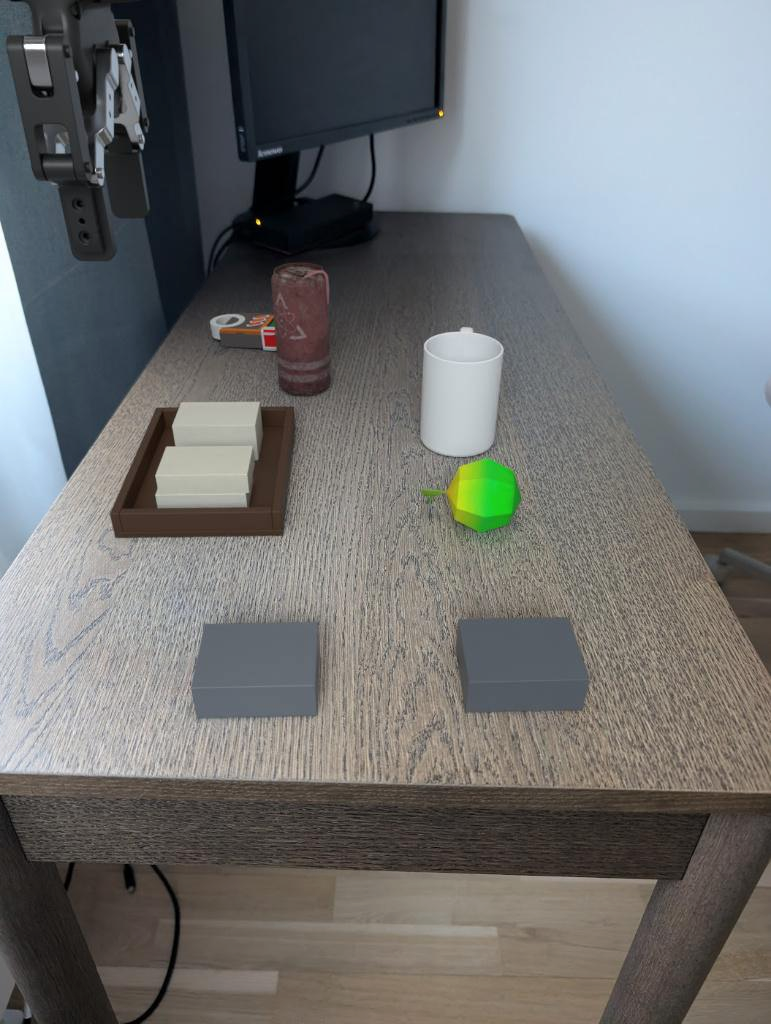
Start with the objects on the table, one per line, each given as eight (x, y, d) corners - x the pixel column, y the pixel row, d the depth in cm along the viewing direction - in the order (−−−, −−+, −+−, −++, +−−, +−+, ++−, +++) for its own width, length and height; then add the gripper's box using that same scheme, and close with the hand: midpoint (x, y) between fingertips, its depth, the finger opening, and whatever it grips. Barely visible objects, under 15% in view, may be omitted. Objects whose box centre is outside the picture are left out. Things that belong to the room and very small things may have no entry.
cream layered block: (158, 513, 70) (151, 476, 67) (169, 482, 74) (162, 446, 71) (251, 512, 70) (247, 474, 68) (256, 481, 74) (253, 445, 72)
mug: (493, 461, 79) (503, 365, 73) (416, 455, 80) (419, 360, 74) (495, 406, 89) (505, 318, 83) (427, 401, 89) (431, 314, 83)
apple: (528, 451, 66) (423, 445, 66) (526, 524, 64) (418, 517, 65) (517, 475, 73) (421, 470, 73) (515, 541, 71) (417, 535, 72)
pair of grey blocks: (196, 718, 51) (190, 688, 50) (209, 653, 56) (204, 623, 55) (582, 710, 52) (590, 679, 51) (562, 646, 57) (568, 616, 56)
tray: (115, 538, 68) (109, 513, 66) (159, 428, 84) (156, 407, 82) (282, 535, 68) (280, 511, 67) (295, 427, 84) (294, 406, 83)
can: (331, 397, 90) (327, 278, 82) (276, 397, 90) (267, 277, 82) (333, 375, 95) (330, 260, 87) (281, 374, 95) (273, 260, 87)
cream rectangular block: (177, 461, 77) (171, 425, 75) (186, 436, 81) (181, 402, 79) (258, 460, 77) (255, 425, 75) (263, 435, 81) (259, 401, 79)
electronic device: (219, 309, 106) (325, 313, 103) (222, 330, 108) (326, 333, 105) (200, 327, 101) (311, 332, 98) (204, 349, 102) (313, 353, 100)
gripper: (20, -111, 41) (84, 206, 51) (-108, -142, 30) (6, 276, 39) (161, -108, 42) (199, 206, 51) (90, -138, 30) (156, 276, 39)
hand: (115, 236), depth 45 cm, fingers open, 8 cm apart
